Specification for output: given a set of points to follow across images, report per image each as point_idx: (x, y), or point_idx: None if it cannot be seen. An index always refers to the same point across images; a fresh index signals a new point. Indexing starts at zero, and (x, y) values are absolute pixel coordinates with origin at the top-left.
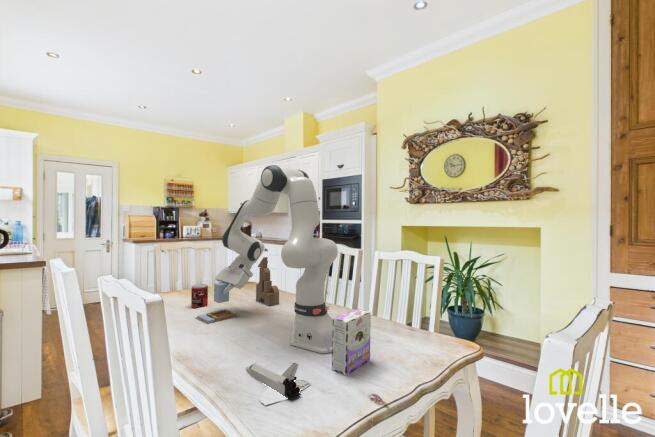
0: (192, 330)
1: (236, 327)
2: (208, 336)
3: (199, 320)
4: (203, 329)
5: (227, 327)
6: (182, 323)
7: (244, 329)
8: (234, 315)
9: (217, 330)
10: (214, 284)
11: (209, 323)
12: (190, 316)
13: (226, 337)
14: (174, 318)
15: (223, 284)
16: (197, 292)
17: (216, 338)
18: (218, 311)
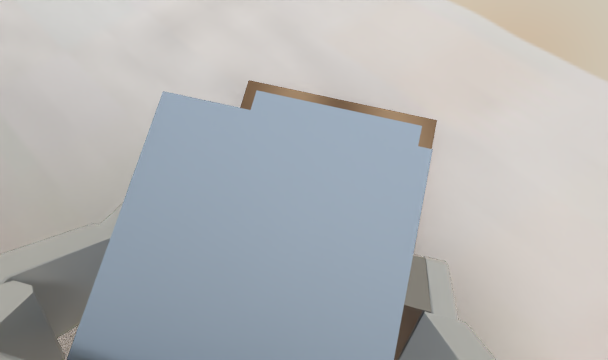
0: (280, 13)
1: (84, 180)
2: (133, 3)
3: (355, 103)
4: (239, 54)
5: (136, 151)
6: (442, 54)
7: (17, 180)
8: None
9: (154, 84)
10: (411, 151)
11: (245, 97)
12: (543, 175)
13: (37, 40)
14: (588, 87)
15: (139, 234)
16: None
17: (76, 6)
18: None
